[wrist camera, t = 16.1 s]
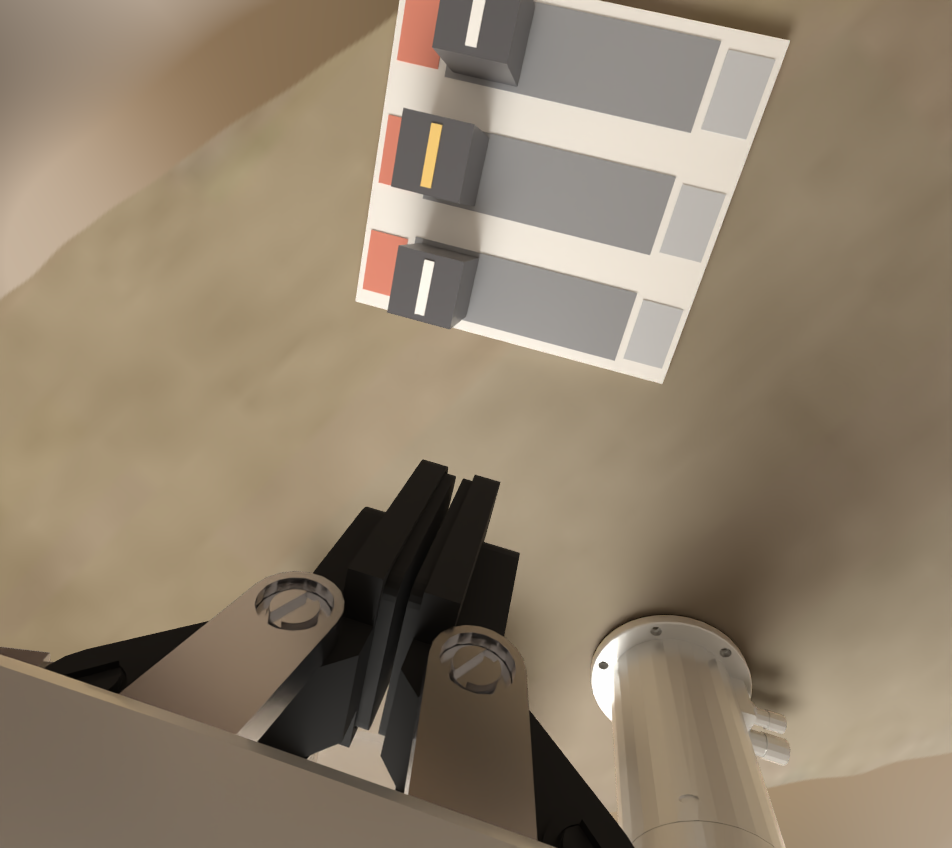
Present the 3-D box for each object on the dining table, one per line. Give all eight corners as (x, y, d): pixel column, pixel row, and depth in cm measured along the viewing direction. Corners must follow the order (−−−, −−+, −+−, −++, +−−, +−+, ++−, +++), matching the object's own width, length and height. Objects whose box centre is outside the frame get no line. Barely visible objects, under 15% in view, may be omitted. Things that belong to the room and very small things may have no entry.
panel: (782, 47, 31) (831, 3, 25) (659, 379, 38) (674, 407, 32) (411, -32, 33) (373, -89, 27) (361, 299, 40) (323, 311, 34)
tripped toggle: (489, 138, 34) (474, 123, 29) (474, 206, 35) (458, 203, 31) (427, 123, 34) (402, 107, 30) (415, 191, 36) (390, 186, 31)
